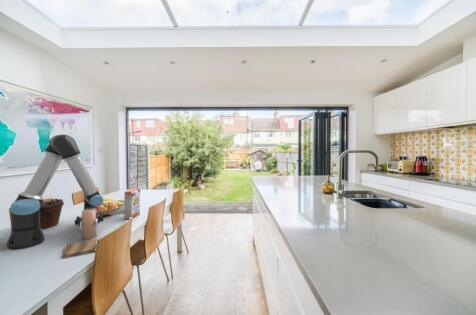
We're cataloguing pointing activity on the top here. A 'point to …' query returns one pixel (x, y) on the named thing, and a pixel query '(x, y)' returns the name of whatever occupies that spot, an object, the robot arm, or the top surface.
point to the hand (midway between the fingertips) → (88, 225)
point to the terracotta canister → (88, 224)
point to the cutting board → (79, 248)
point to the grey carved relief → (119, 211)
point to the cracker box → (131, 203)
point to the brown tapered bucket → (50, 213)
